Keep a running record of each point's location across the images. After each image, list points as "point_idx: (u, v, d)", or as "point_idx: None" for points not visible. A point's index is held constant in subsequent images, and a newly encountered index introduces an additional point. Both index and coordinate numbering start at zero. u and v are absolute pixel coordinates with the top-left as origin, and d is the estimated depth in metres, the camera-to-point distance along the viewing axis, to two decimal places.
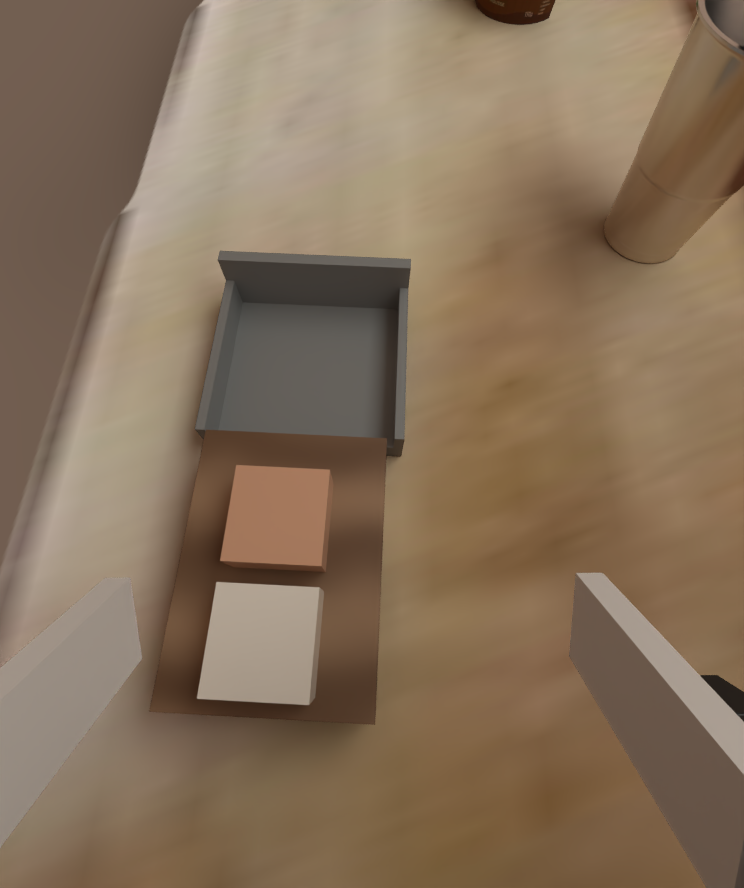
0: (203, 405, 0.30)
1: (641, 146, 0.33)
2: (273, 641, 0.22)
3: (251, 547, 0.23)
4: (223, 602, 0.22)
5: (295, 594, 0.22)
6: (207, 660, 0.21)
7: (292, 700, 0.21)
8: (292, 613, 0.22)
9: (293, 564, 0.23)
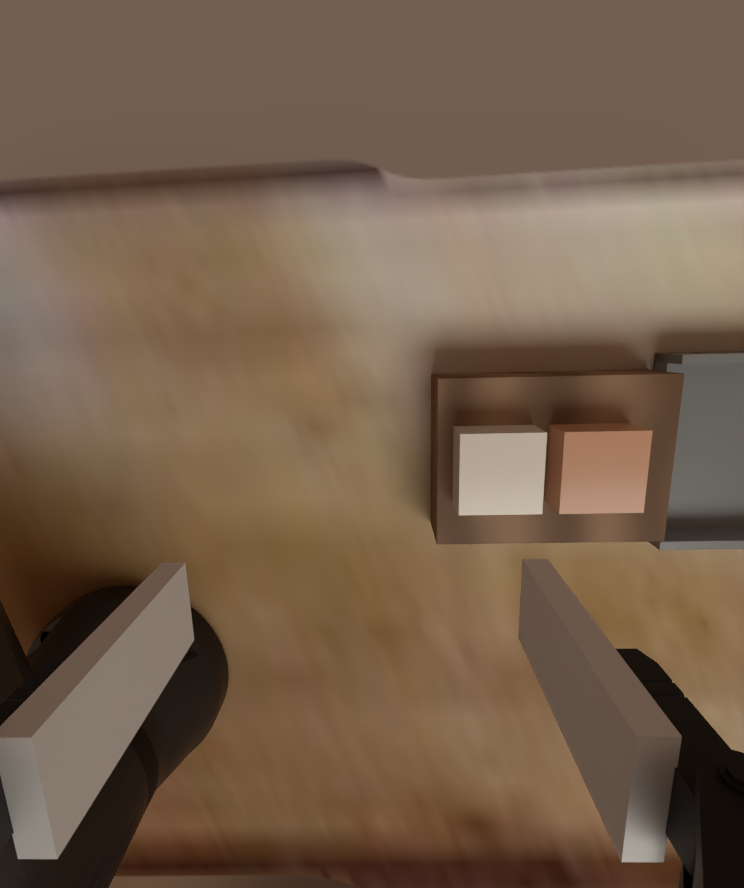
0: (709, 357, 0.29)
1: None
2: (501, 484, 0.28)
3: (575, 456, 0.27)
4: (530, 441, 0.27)
5: (536, 496, 0.28)
6: (487, 437, 0.27)
7: (461, 503, 0.28)
8: (522, 495, 0.28)
9: (560, 491, 0.28)
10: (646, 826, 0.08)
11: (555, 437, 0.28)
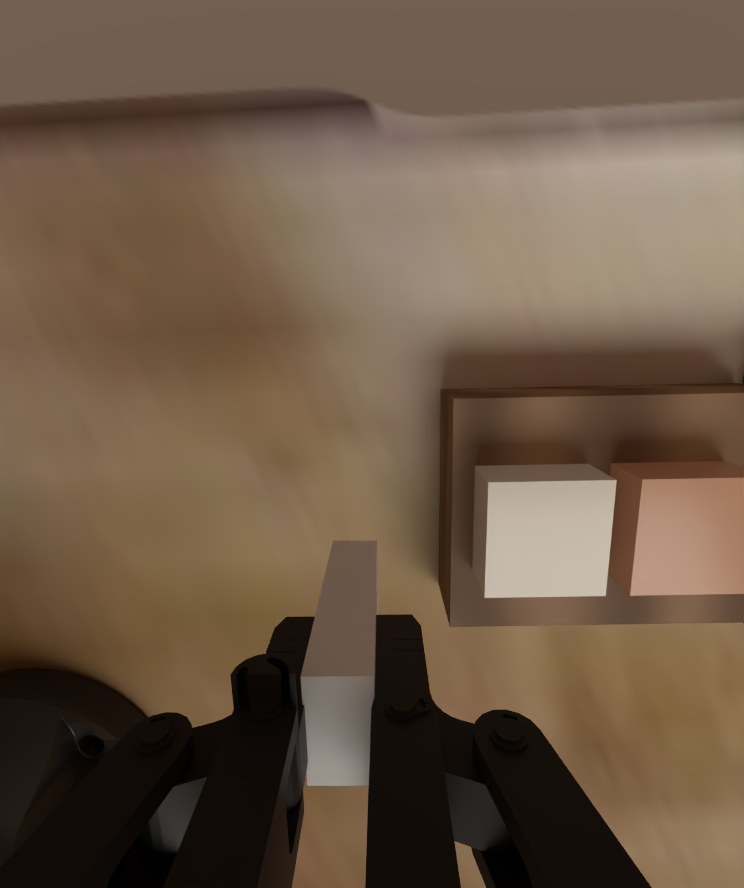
0: None
1: None
2: (547, 554, 0.19)
3: (657, 514, 0.18)
4: (591, 492, 0.18)
5: (598, 571, 0.19)
6: (528, 486, 0.18)
7: (488, 580, 0.19)
8: (577, 570, 0.19)
9: (632, 563, 0.19)
10: (357, 754, 0.10)
11: (623, 483, 0.20)
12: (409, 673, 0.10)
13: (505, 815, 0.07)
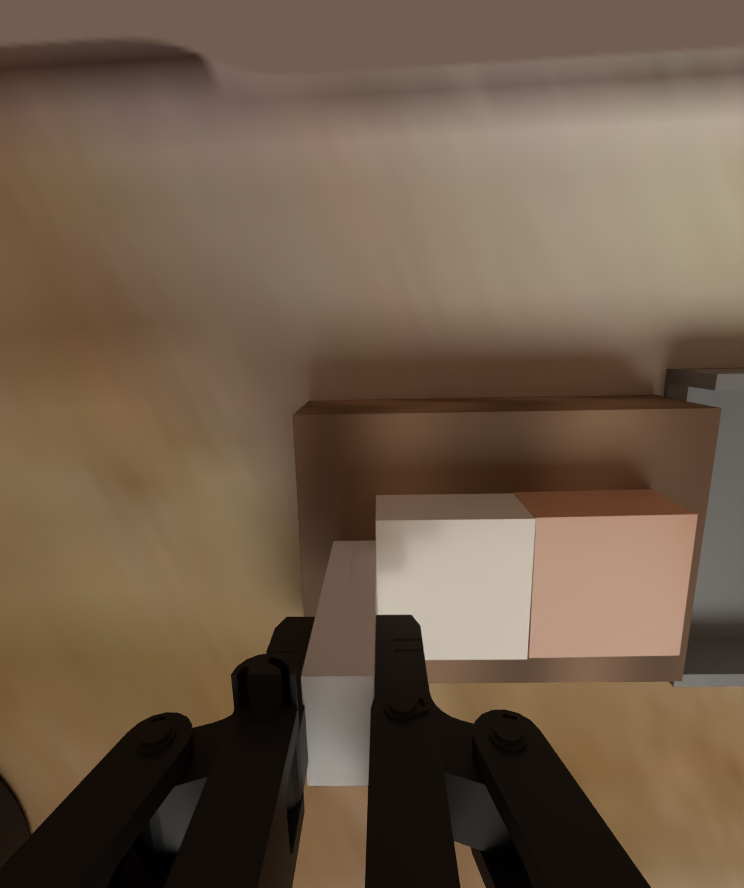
0: None
1: None
2: (452, 609, 0.15)
3: (556, 559, 0.15)
4: (505, 533, 0.15)
5: (517, 629, 0.15)
6: (425, 526, 0.15)
7: None
8: (491, 628, 0.15)
9: (530, 618, 0.15)
10: (356, 753, 0.10)
11: None
12: (409, 673, 0.10)
13: (505, 815, 0.07)
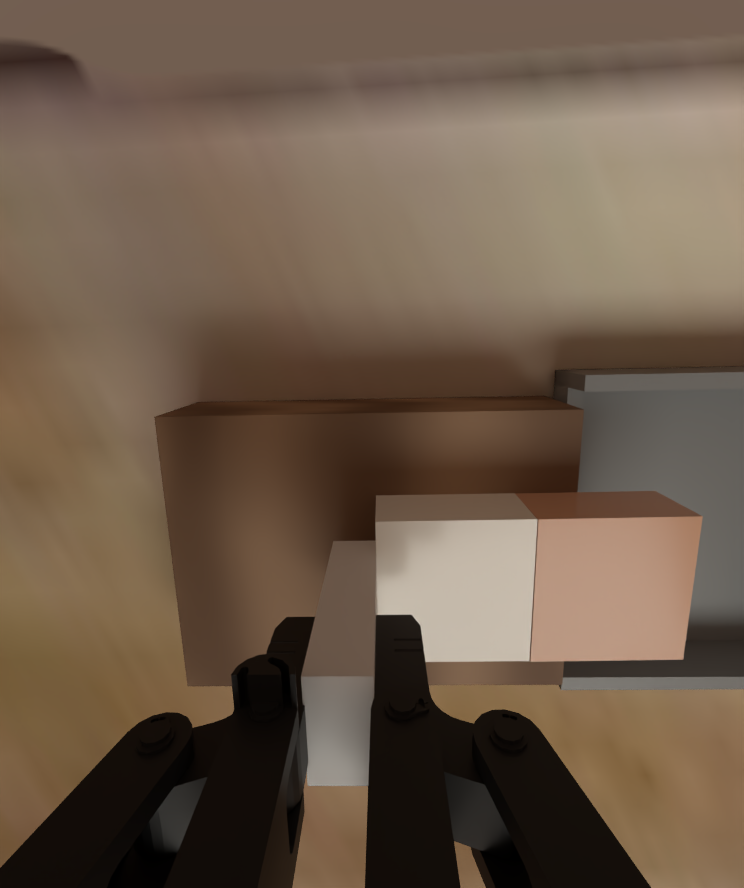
0: (632, 380, 0.17)
1: None
2: (454, 611, 0.15)
3: (559, 562, 0.15)
4: (506, 534, 0.14)
5: (519, 630, 0.15)
6: (425, 527, 0.14)
7: None
8: (492, 629, 0.15)
9: (532, 621, 0.15)
10: (356, 754, 0.10)
11: None
12: (409, 673, 0.10)
13: (505, 815, 0.07)
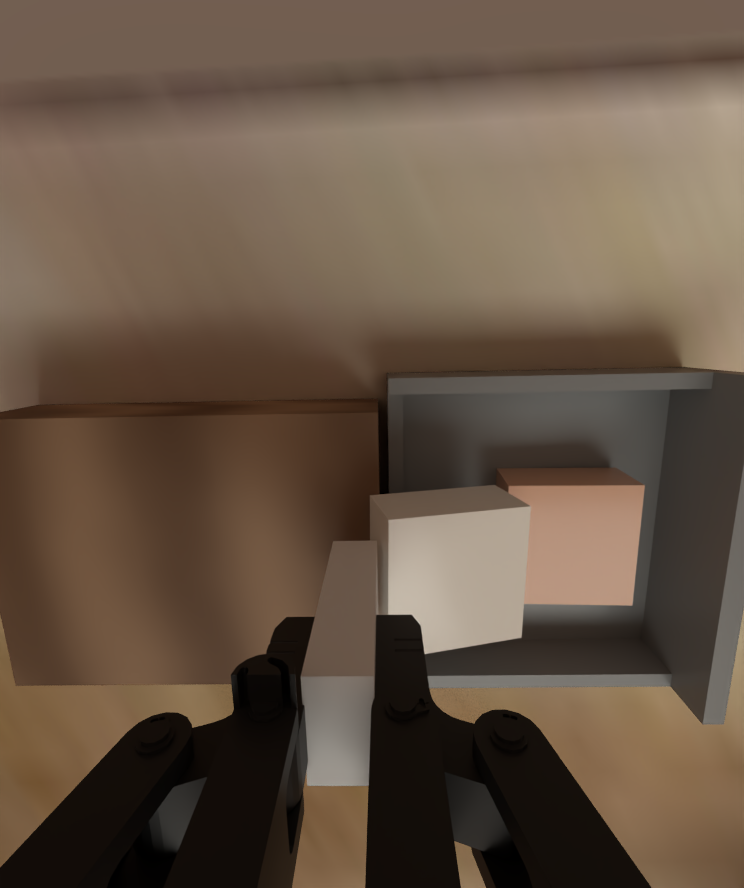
0: (434, 383, 0.17)
1: None
2: (458, 599, 0.16)
3: None
4: (505, 522, 0.16)
5: (513, 610, 0.16)
6: (435, 521, 0.15)
7: None
8: (491, 612, 0.16)
9: None
10: (357, 754, 0.10)
11: None
12: (409, 673, 0.10)
13: (505, 815, 0.07)
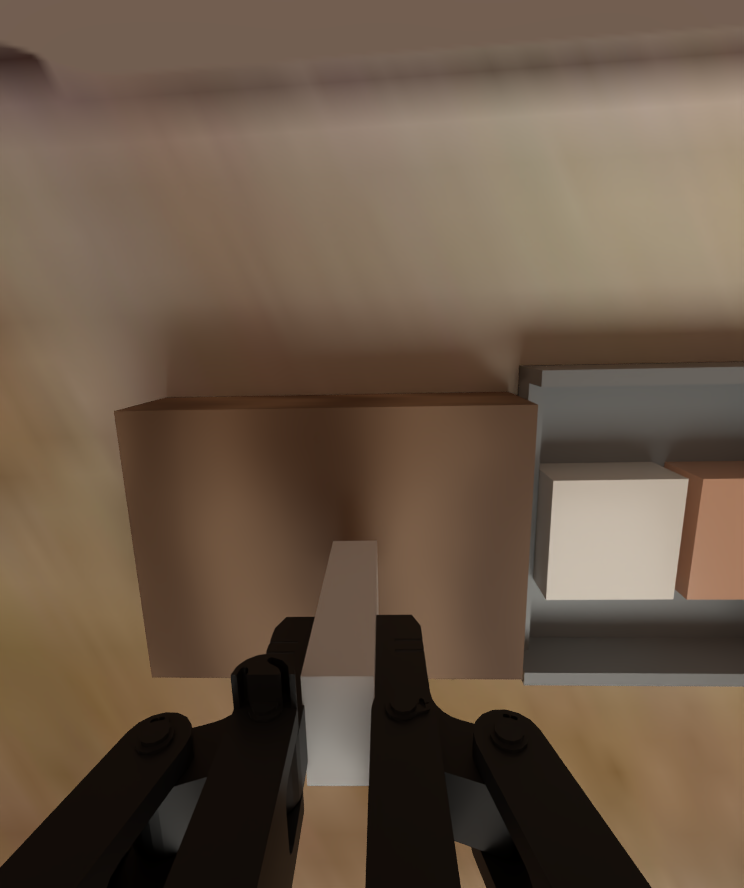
0: (589, 375, 0.17)
1: None
2: (612, 556, 0.18)
3: None
4: (662, 491, 0.18)
5: (666, 573, 0.18)
6: (595, 485, 0.18)
7: (550, 582, 0.19)
8: (644, 572, 0.18)
9: None
10: (357, 754, 0.10)
11: None
12: (409, 673, 0.10)
13: (505, 815, 0.07)
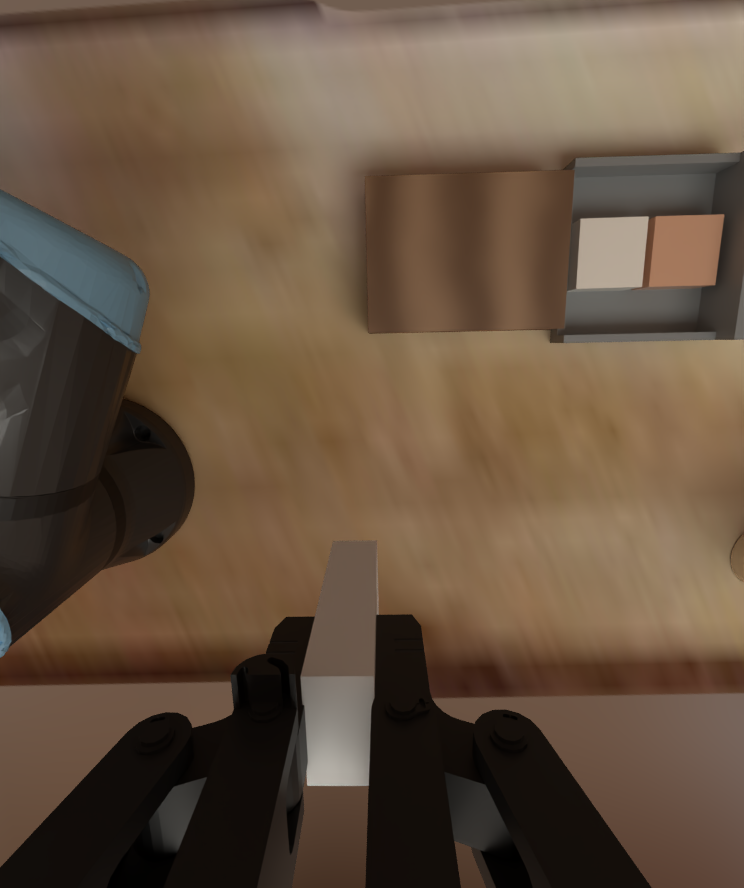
0: (598, 160, 0.34)
1: None
2: (610, 261, 0.35)
3: None
4: (635, 224, 0.35)
5: (638, 271, 0.35)
6: (601, 220, 0.35)
7: (578, 278, 0.36)
8: (626, 271, 0.36)
9: None
10: (357, 754, 0.10)
11: None
12: (409, 673, 0.10)
13: (505, 815, 0.07)
